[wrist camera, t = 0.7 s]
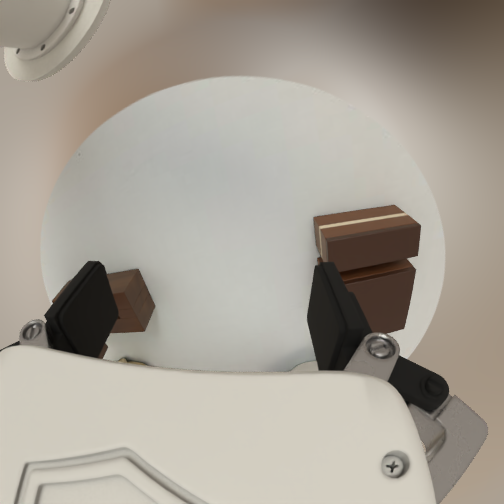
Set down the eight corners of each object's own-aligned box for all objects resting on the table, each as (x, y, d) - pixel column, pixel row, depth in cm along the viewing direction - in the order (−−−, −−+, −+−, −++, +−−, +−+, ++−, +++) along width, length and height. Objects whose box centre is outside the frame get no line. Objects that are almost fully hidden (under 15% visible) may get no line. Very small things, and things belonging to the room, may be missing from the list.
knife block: (68, 280, 33) (51, 301, 28) (138, 268, 32) (124, 292, 27) (86, 312, 36) (72, 334, 31) (155, 306, 34) (144, 331, 30)
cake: (317, 257, 31) (329, 287, 26) (393, 243, 30) (416, 269, 25) (320, 314, 35) (330, 347, 30) (387, 300, 34) (404, 328, 29)
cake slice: (313, 216, 29) (327, 241, 23) (394, 204, 28) (421, 225, 23) (316, 245, 30) (328, 274, 25) (394, 232, 29) (417, 256, 24)
